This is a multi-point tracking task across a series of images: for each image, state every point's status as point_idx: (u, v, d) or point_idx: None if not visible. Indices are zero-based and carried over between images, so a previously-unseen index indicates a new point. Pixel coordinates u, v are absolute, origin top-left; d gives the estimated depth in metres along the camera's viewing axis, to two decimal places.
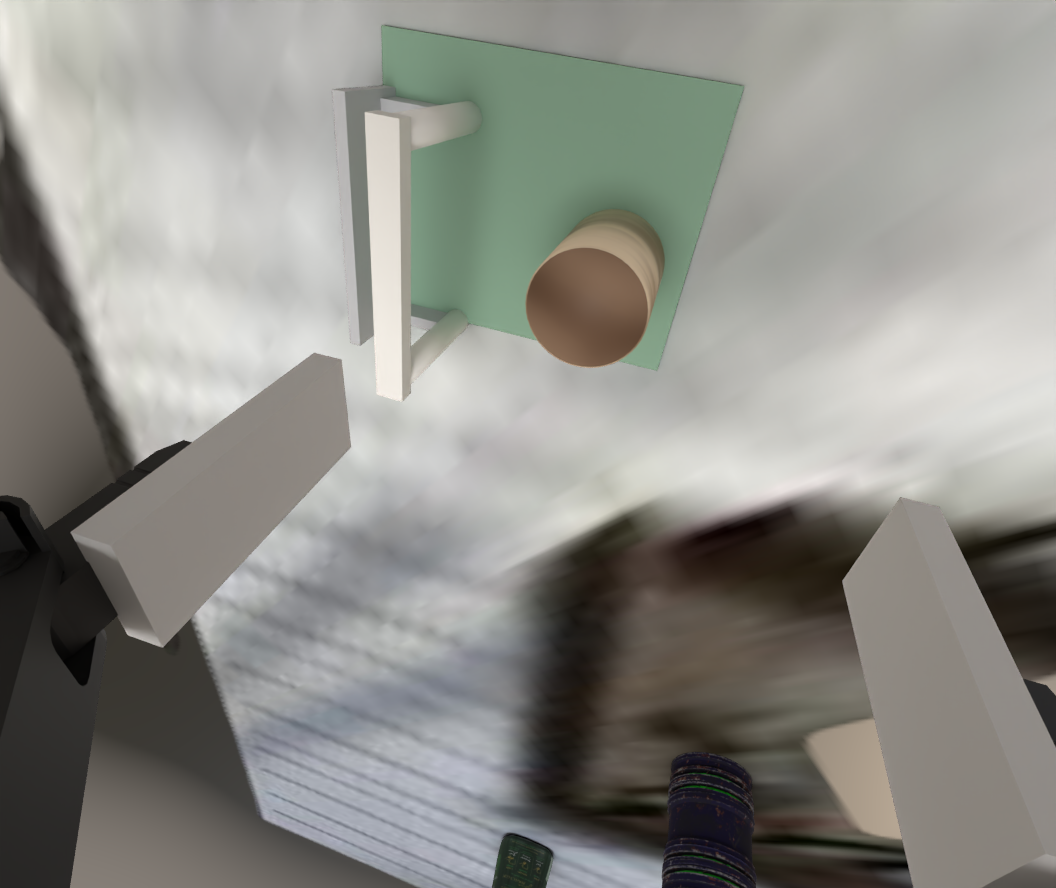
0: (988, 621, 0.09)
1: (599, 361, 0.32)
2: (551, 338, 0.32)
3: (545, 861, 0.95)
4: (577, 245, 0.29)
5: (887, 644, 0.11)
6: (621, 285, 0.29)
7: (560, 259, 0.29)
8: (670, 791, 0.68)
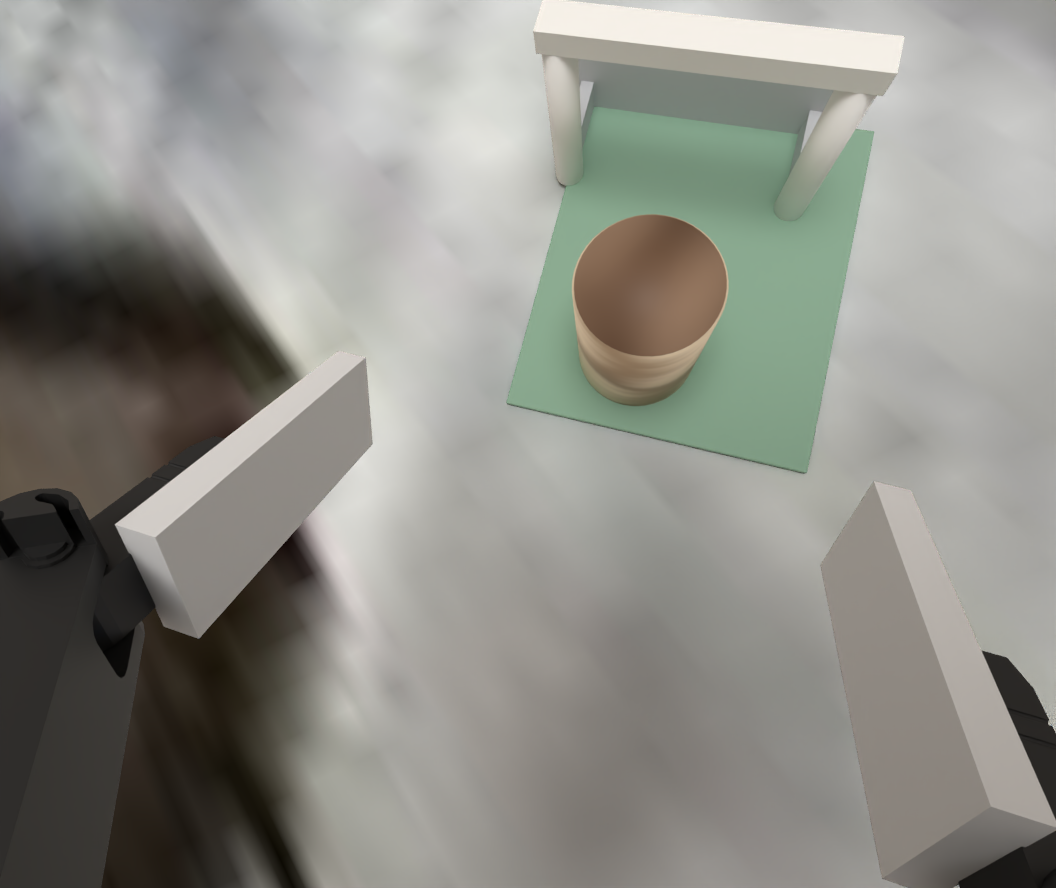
0: (951, 596, 0.09)
1: (582, 300, 0.25)
2: (611, 243, 0.26)
3: None
4: None
5: (859, 621, 0.11)
6: (682, 325, 0.24)
7: (713, 256, 0.25)
8: None
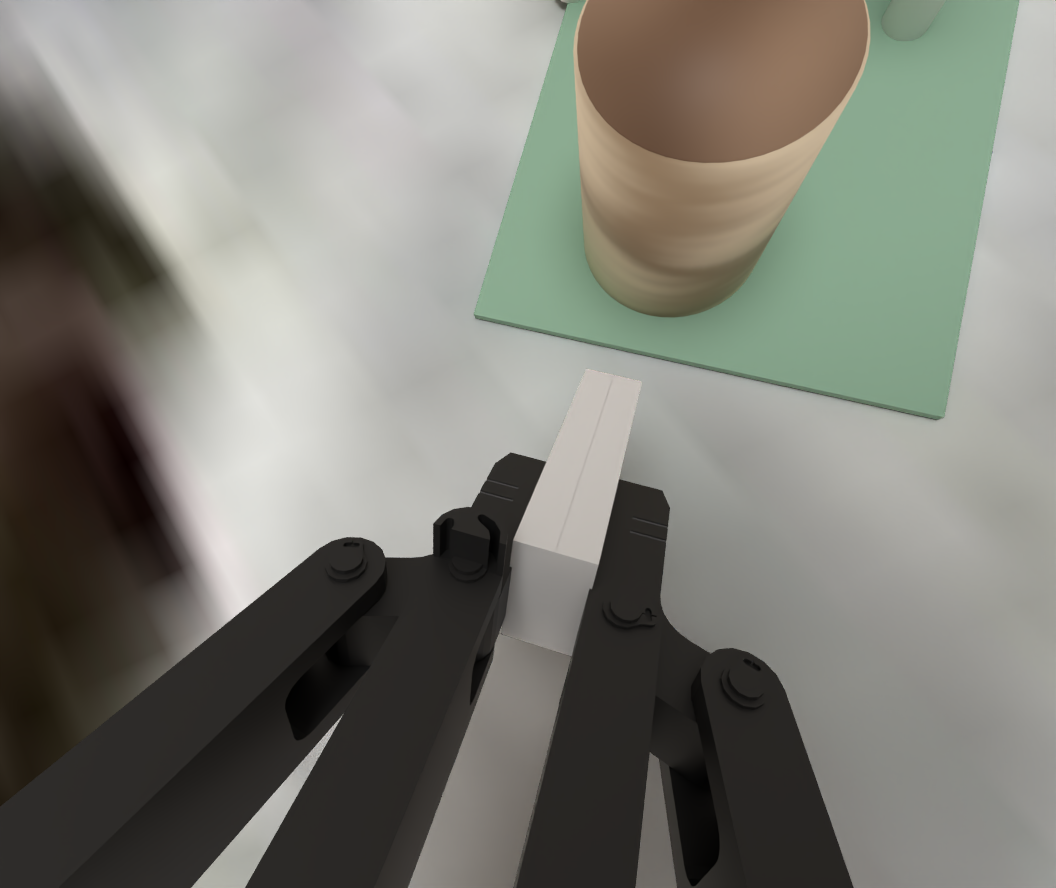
0: (621, 443, 0.12)
1: (592, 69, 0.14)
2: None
3: None
4: None
5: None
6: (782, 102, 0.13)
7: None
8: None
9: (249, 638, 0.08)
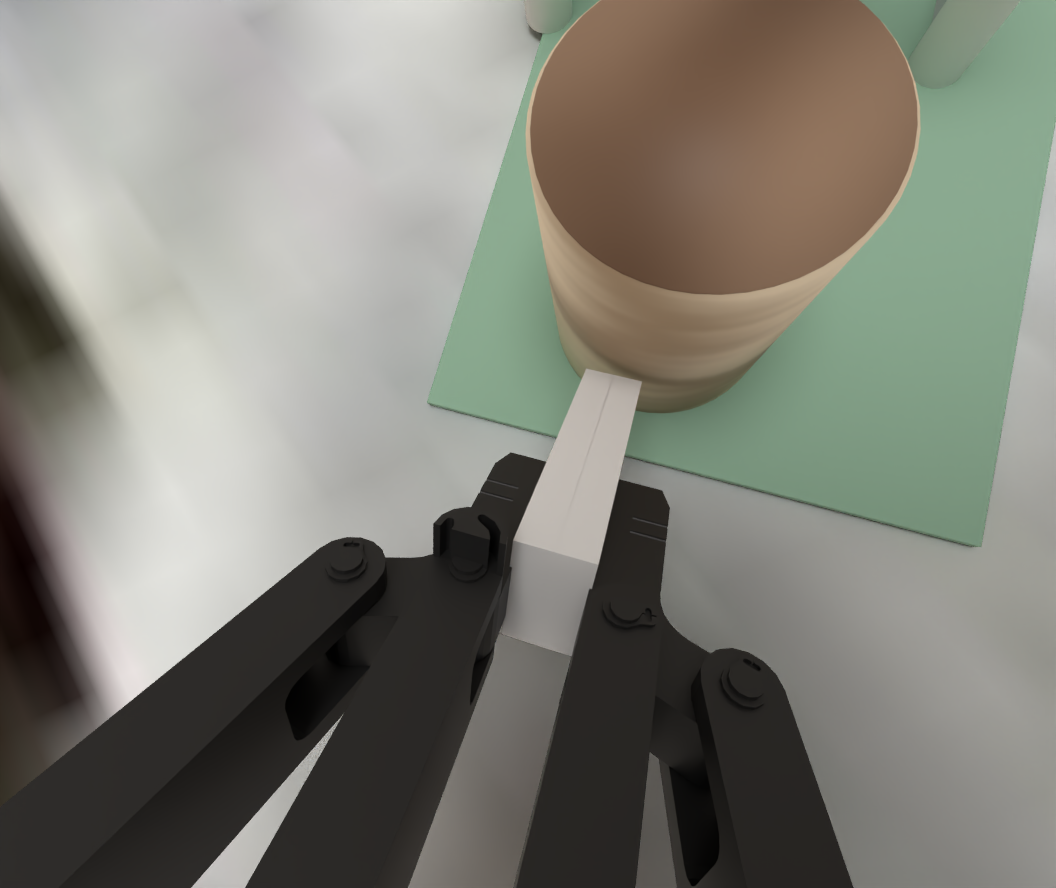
0: (621, 443, 0.12)
1: (548, 158, 0.10)
2: (624, 24, 0.11)
3: None
4: None
5: None
6: (802, 215, 0.10)
7: (879, 46, 0.10)
8: None
9: (249, 638, 0.08)
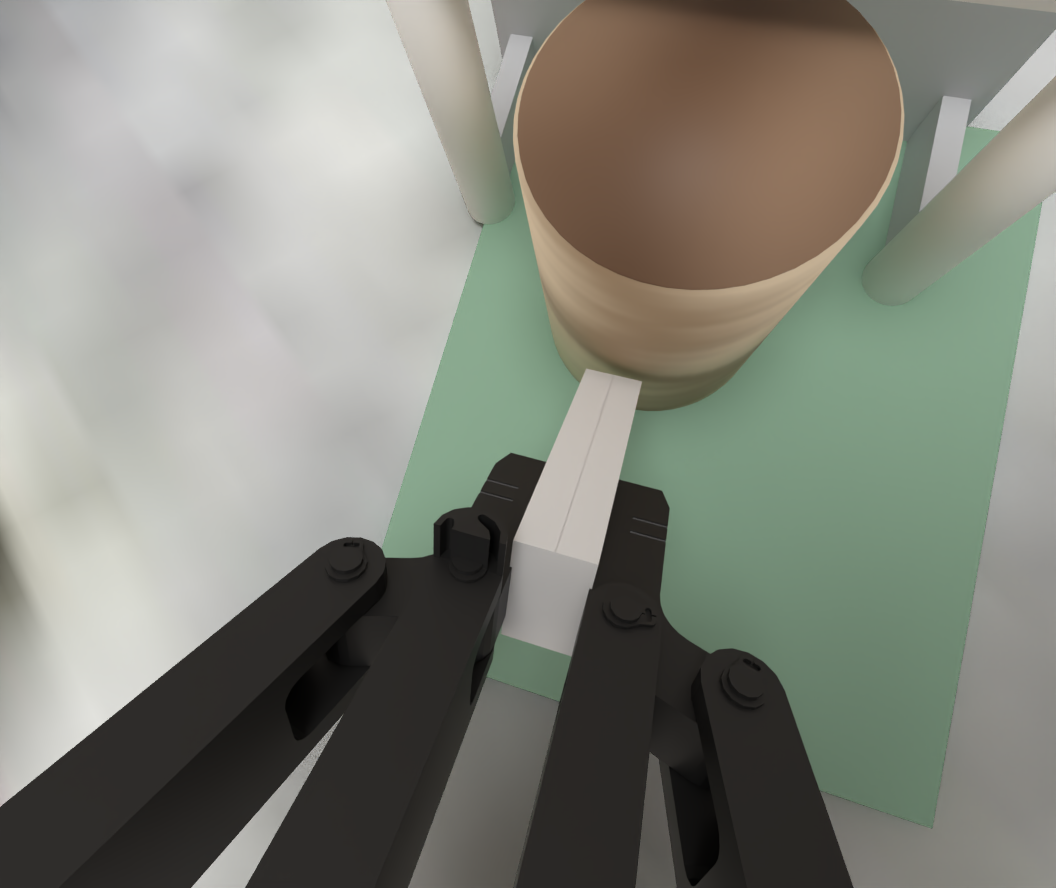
0: (621, 443, 0.12)
1: (538, 163, 0.10)
2: (605, 27, 0.11)
3: None
4: None
5: None
6: (793, 206, 0.10)
7: (858, 36, 0.10)
8: None
9: (249, 638, 0.08)
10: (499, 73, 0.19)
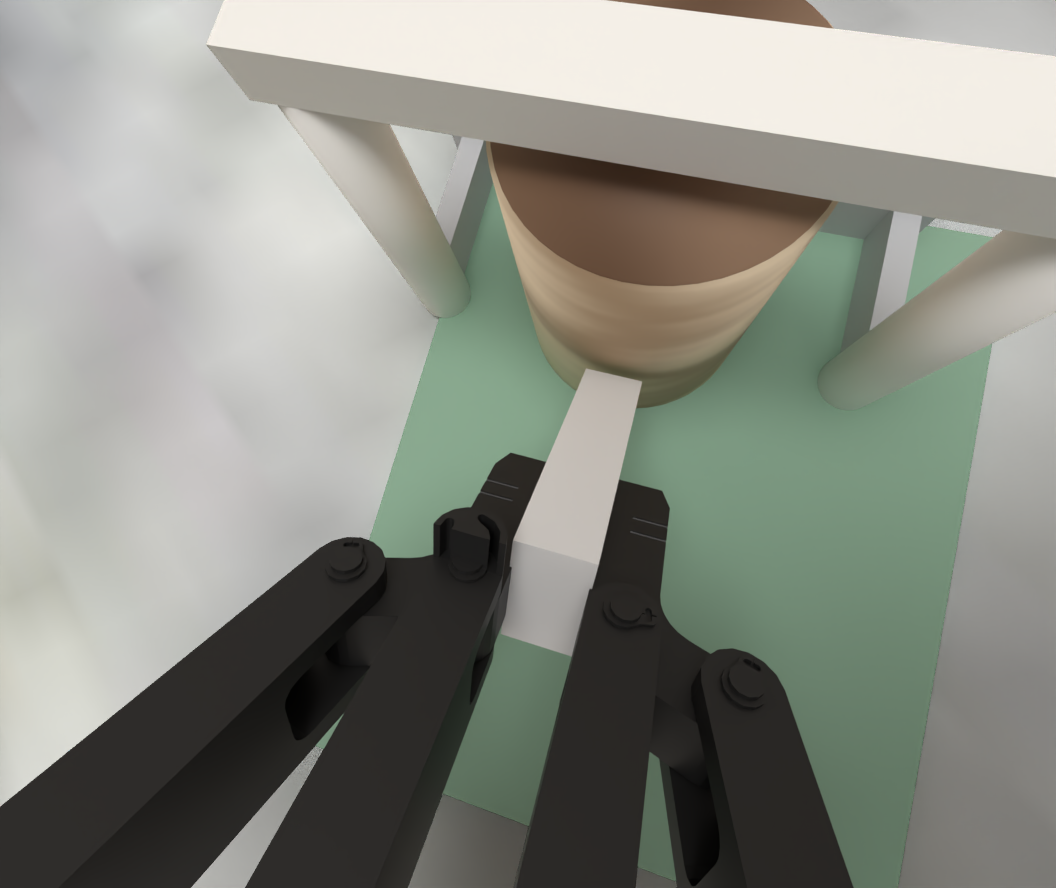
0: (621, 443, 0.12)
1: (512, 173, 0.11)
2: None
3: None
4: None
5: None
6: (764, 198, 0.10)
7: None
8: None
9: (249, 638, 0.08)
10: (451, 171, 0.19)
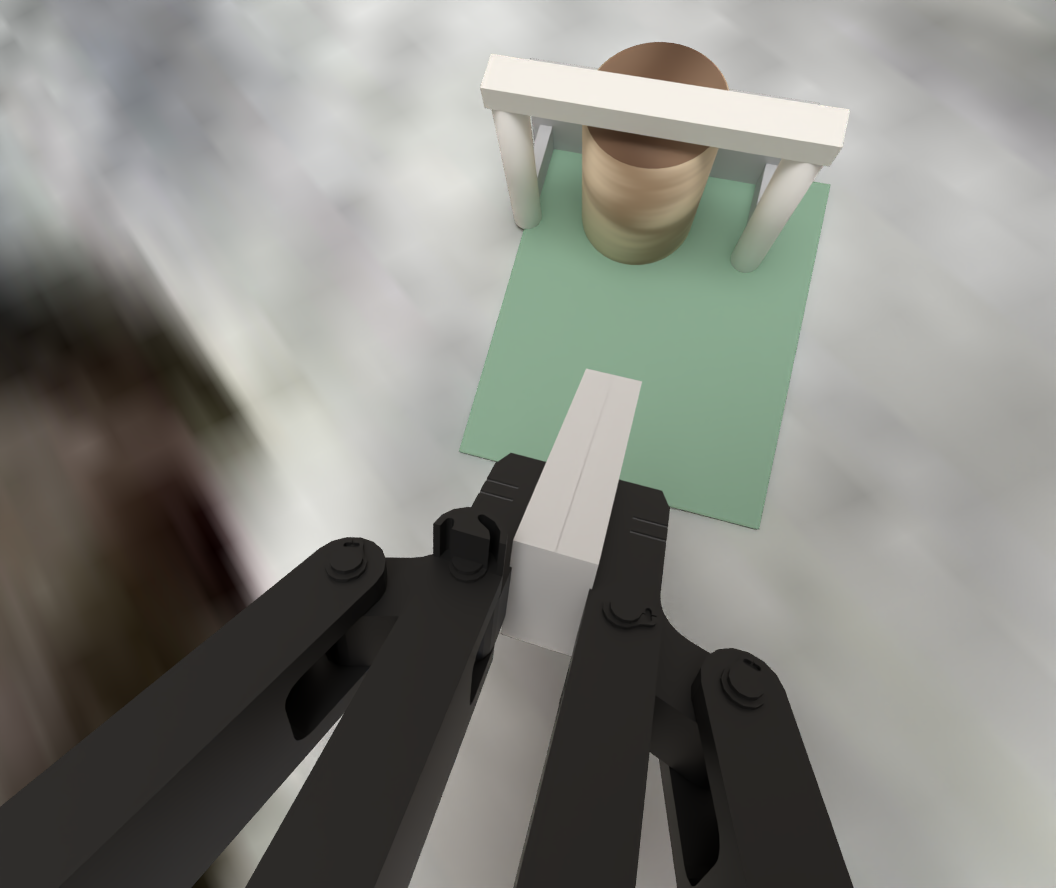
0: (621, 443, 0.12)
1: None
2: (615, 72, 0.27)
3: None
4: (727, 90, 0.26)
5: None
6: None
7: (712, 71, 0.26)
8: None
9: (249, 638, 0.08)
10: (534, 146, 0.35)
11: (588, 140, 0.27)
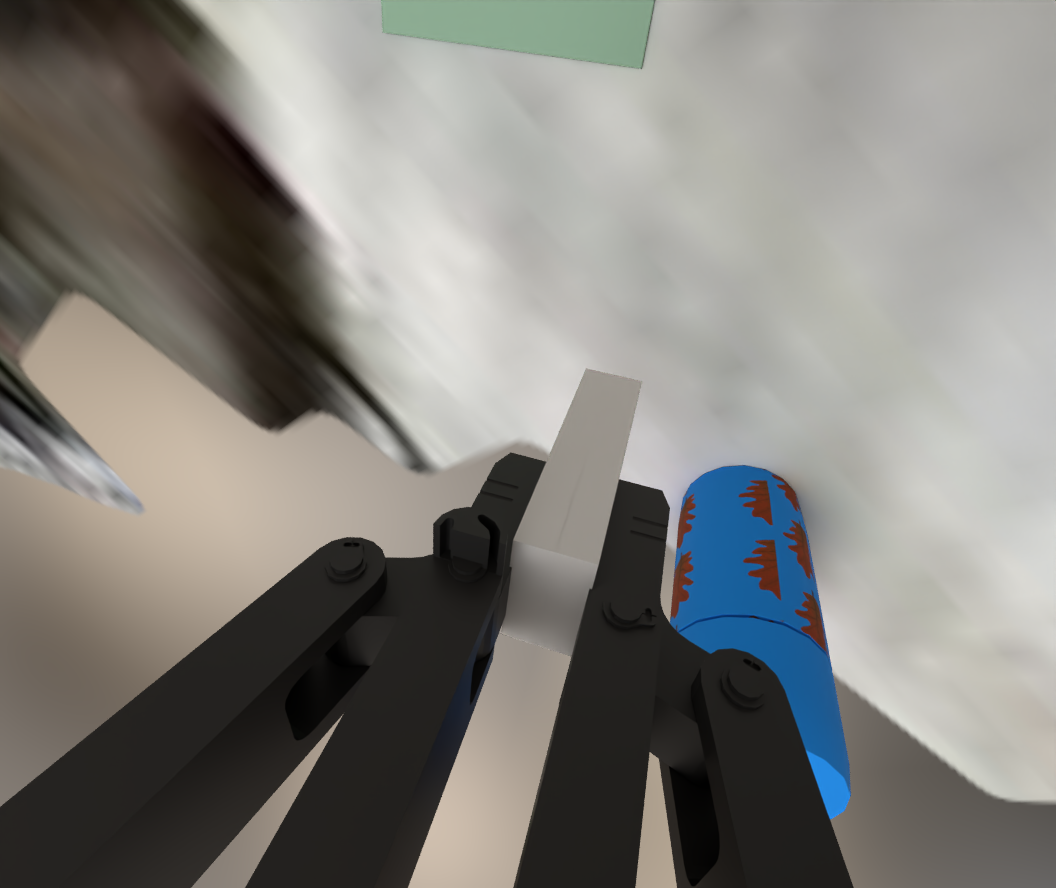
0: (621, 443, 0.12)
1: None
2: None
3: None
4: None
5: None
6: None
7: None
8: None
9: (249, 638, 0.08)
10: None
11: None
